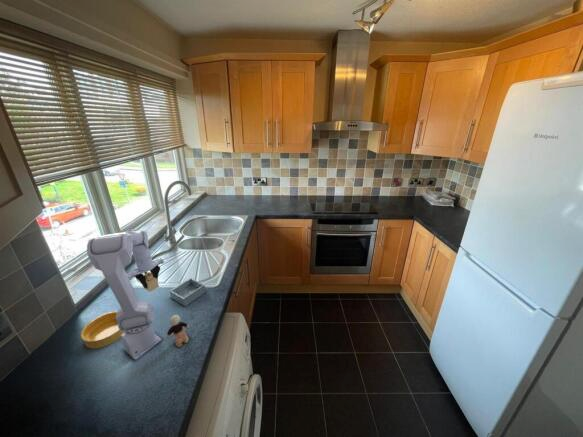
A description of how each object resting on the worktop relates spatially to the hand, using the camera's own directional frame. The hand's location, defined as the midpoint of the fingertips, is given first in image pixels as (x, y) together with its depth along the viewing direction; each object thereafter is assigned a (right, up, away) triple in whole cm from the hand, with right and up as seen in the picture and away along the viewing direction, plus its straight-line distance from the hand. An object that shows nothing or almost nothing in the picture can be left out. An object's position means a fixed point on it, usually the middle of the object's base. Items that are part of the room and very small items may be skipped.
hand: (150, 284), depth 103 cm
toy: (0, -2, +1) cm, 2 cm away
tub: (+13, -7, +7) cm, 17 cm away
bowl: (-9, -15, -12) cm, 22 cm away
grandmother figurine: (+21, -17, -16) cm, 32 cm away
